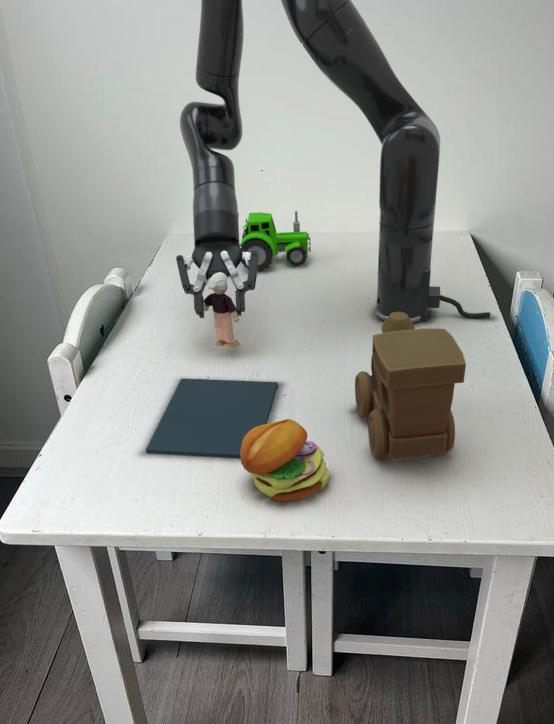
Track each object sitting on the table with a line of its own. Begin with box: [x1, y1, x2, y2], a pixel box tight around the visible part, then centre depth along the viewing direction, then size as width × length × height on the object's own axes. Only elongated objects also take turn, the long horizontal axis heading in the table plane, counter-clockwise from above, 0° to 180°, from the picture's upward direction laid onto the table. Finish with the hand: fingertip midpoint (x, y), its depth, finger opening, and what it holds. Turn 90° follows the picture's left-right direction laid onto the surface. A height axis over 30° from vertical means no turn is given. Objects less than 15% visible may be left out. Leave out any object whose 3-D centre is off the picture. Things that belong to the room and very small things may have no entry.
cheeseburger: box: [240, 418, 330, 503], centre depth 97 cm, size 10×11×10 cm
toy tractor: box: [239, 211, 312, 273], centre depth 157 cm, size 11×16×10 cm
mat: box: [145, 378, 279, 459], centre depth 112 cm, size 16×20×1 cm
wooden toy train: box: [354, 312, 467, 461], centre depth 102 cm, size 20×11×17 cm, turn 6°
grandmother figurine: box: [203, 272, 242, 350], centre depth 124 cm, size 8×4×13 cm, turn 64°
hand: (220, 315), depth 122 cm, fingers closed on grandmother figurine, 5 cm apart
